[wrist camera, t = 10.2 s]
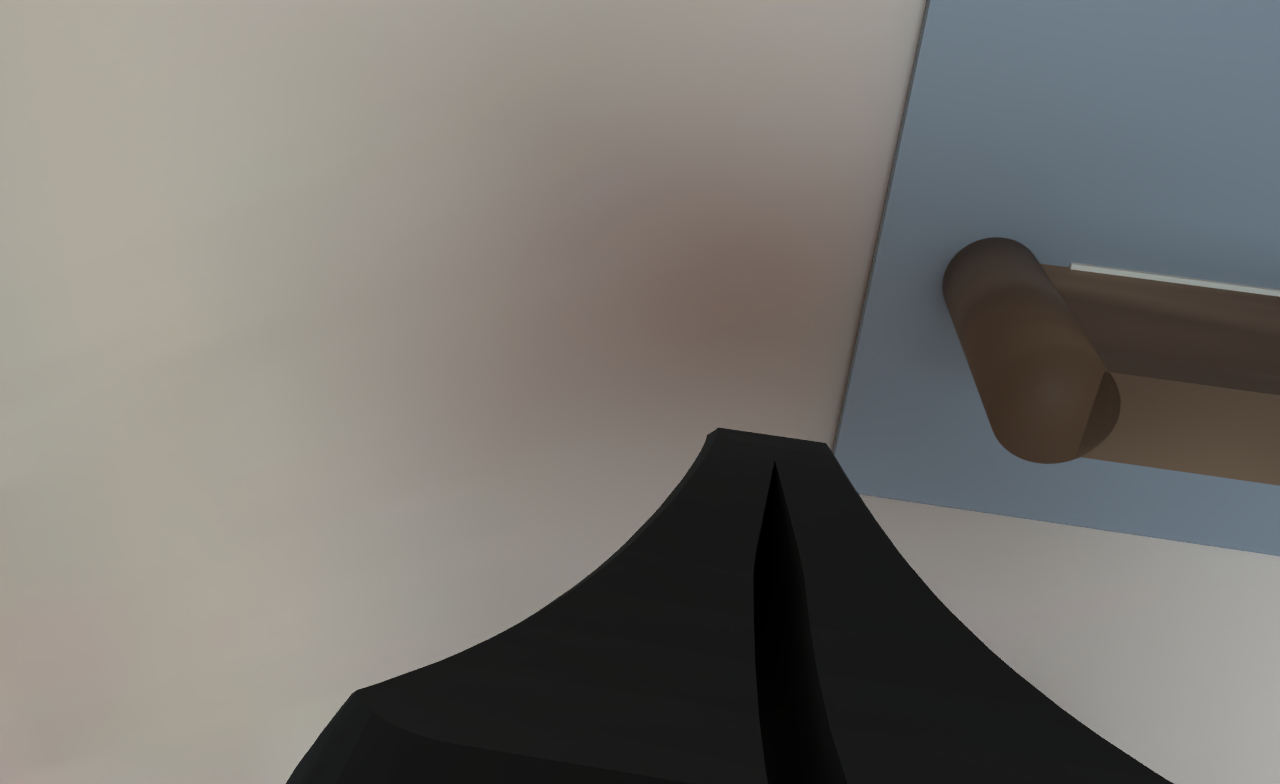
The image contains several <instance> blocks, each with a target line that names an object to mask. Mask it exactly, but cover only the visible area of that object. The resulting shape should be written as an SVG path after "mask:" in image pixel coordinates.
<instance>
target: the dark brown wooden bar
mask: <svg viewBox="0 0 1280 784" xmlns="http://www.w3.org/2000/svg"><path fill="white" fill-rule="evenodd" d="M942 291H943V296H944V300H945V303H946V305H947V308H948V311H949V314H950V316H951V319H952V322H953V324H954V327H955V330H956V333H957V335H958V338H959V341H960V344H961V346H962V349H963V352H964V354H965V357H966V360H967V363H968V365H969V368H970V371H971V373H972V376H973V379H974V382H975V384H976V387H977V390H978V392H979V395H980V398H981V401H982V403H983V406H984V409H985V412H986V414H987V417H988V420H989V422H990V425H991V428H992V430H993V433H994V435H995V437H996V438H997V440H998V441H999V443H1000V444H1001V445H1002V446H1003V447H1004V448H1005V449H1006V450H1007V451H1009V452H1010V453H1012V454H1013V455H1015V456H1017V457H1019V458H1021V459H1023V460H1026V461H1029V462H1034V463H1041V464H1056V463H1063V462H1067V461H1071V460H1074V459H1077V458H1080V457H1082V458H1089V459H1096V460H1103V461H1110V462H1117V463H1124V464H1131V465H1138V466H1145V467H1152V468H1159V469H1166V470H1173V471H1180V472H1187V473H1194V474H1201V475H1208V476H1215V477H1222V478H1229V479H1236V480H1243V481H1250V482H1257V483H1264V484H1271V485H1278V486H1280V297H1279V296H1271V295H1263V294H1256V293H1248V292H1241V291H1233V290H1225V289H1218V288H1210V287H1202V286H1195V285H1187V284H1180V283H1172V282H1164V281H1157V280H1149V279H1141V278H1134V277H1126V276H1118V275H1111V274H1103V273H1096V272H1088V271H1080V270H1073V269H1070V268H1069V267H1062V266H1055V265H1047V264H1040V263H1039V261H1038V260H1037V258H1036V257H1035V255H1034V254H1033V253H1032V252H1031V251H1030V250H1029V249H1028V248H1027V247H1026V246H1024V245H1023V244H1021V243H1019V242H1017V241H1015V240H1012V239H1008V238H1002V237H991V238H985V239H981V240H978V241H975V242H973V243H971V244H969V245H967V246H966V247H964V248H963V249H962V250H960V251H959V252H958V253H957V254H956V255H955V256H954V257H953V259H952V260H951V261H950V263H949V264H948V266H947V268H946V270H945V273H944V276H943V282H942Z"/></svg>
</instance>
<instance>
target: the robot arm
mask: <svg viewBox="0 0 1280 784" xmlns="http://www.w3.org/2000/svg"><path fill="white" fill-rule="evenodd" d="M286 784H1173V783H1172V782H1170V781H1168V780H1166V779H1165V778H1163V777H1162V776H1160V775H1158V774H1157V773H1155V772H1154V771H1152V770H1150V769H1149V768H1147V767H1146V766H1144V765H1143V764H1141V763H1140V762H1138V761H1137V760H1135V759H1134V758H1132V757H1131V756H1129V755H1128V754H1126V753H1125V752H1123V751H1122V750H1120V749H1119V748H1117V747H1116V746H1114V745H1113V744H1111V743H1110V742H1108V741H1107V740H1105V739H1104V738H1102V737H1100V736H1099V735H1098V734H1096V733H1095V732H1093V731H1092V730H1091V729H1089V728H1088V727H1086V726H1085V725H1084V724H1082V723H1081V722H1079V721H1078V720H1077V719H1075V718H1074V717H1073V716H1071V715H1070V714H1068V713H1067V712H1066V711H1064V710H1063V709H1062V708H1060V707H1059V706H1058V705H1056V704H1055V703H1054V702H1053V701H1051V700H1050V699H1049V698H1048V697H1046V696H1045V695H1044V694H1043V693H1041V692H1040V691H1039V690H1038V689H1036V688H1035V687H1034V686H1033V685H1031V684H1030V683H1029V682H1028V681H1026V680H1025V679H1024V678H1023V677H1021V676H1020V675H1019V674H1018V673H1016V672H1015V671H1014V670H1013V669H1012V668H1010V667H1009V666H1008V665H1007V664H1006V663H1005V662H1004V661H1002V660H1001V659H1000V658H999V657H998V656H997V655H996V654H994V653H993V652H992V651H991V650H990V649H989V648H988V647H987V646H986V645H985V644H984V643H983V642H982V641H981V640H979V639H978V638H977V637H976V636H975V635H974V634H973V633H972V632H971V631H970V630H969V629H968V628H967V627H966V626H965V625H964V624H963V623H962V622H961V621H960V620H959V619H958V618H957V617H956V616H955V615H954V614H953V613H952V612H951V611H950V610H949V609H948V608H947V607H946V606H945V605H944V604H943V603H942V602H941V601H940V600H939V599H938V598H937V597H936V595H935V594H934V593H933V592H932V591H931V590H930V589H929V588H928V586H927V585H926V584H925V583H924V582H923V580H922V579H921V578H920V577H919V576H918V575H917V573H916V572H915V571H914V570H913V569H912V568H911V566H910V565H909V564H908V563H907V562H906V560H905V559H904V558H903V557H902V555H901V554H900V553H899V551H898V550H897V549H896V547H895V546H894V545H893V543H892V542H891V540H890V539H889V538H888V536H887V535H886V534H885V532H884V531H883V529H882V528H881V527H880V525H879V524H878V523H877V521H876V520H875V518H874V517H873V515H872V514H871V512H870V511H869V510H868V508H867V507H866V505H865V504H864V502H863V500H862V499H861V497H860V496H859V494H858V493H857V491H856V490H855V488H854V487H853V485H852V483H851V482H850V480H849V479H848V477H847V475H846V474H845V472H844V470H843V469H842V467H841V465H840V464H839V462H838V460H837V459H836V457H835V456H834V454H833V453H832V451H831V450H830V448H829V447H828V446H827V444H826V443H821V442H814V441H807V440H800V439H793V438H786V437H779V436H772V435H766V434H759V433H752V432H745V431H738V430H731V429H724V428H717V429H716V430H714V431H713V432H711V433H710V434H708V435H707V438H706V441H705V444H704V446H703V448H702V450H701V452H700V453H699V455H698V457H697V458H696V460H695V462H694V463H693V465H692V466H691V468H690V469H689V470H688V472H687V473H686V475H685V476H684V478H683V479H682V480H681V482H680V483H679V484H678V485H677V487H676V488H675V489H674V490H673V492H672V493H671V494H670V495H669V497H668V498H667V499H666V500H665V501H664V503H663V504H662V505H661V506H660V508H659V509H658V510H657V511H656V512H655V513H654V514H653V515H652V516H651V517H650V518H649V520H648V521H647V522H646V523H645V524H644V525H643V526H642V527H641V528H640V529H639V530H638V531H637V532H636V533H635V534H634V535H633V536H632V537H631V538H630V539H629V540H628V541H627V542H626V543H625V544H624V545H623V546H622V547H621V548H620V549H619V550H618V551H617V552H615V553H614V554H613V555H612V556H611V557H610V558H609V559H608V560H607V561H605V562H604V563H603V564H602V565H601V566H599V567H598V568H597V569H596V570H595V571H593V572H592V573H591V574H590V575H588V576H587V577H586V578H585V579H583V580H582V581H581V582H579V583H578V584H577V585H576V586H574V587H573V588H571V589H570V590H569V591H567V592H566V593H564V594H563V595H561V596H560V597H558V598H557V599H555V600H554V601H553V602H551V603H550V604H548V605H547V606H545V607H544V608H542V609H541V610H539V611H538V612H536V613H535V614H533V615H532V616H530V617H528V618H527V619H525V620H523V621H522V622H520V623H518V624H517V625H515V626H513V627H511V628H509V629H508V630H506V631H504V632H502V633H500V634H498V635H496V636H494V637H492V638H490V639H488V640H486V641H484V642H482V643H480V644H477V645H475V646H473V647H471V648H469V649H467V650H465V651H462V652H460V653H458V654H456V655H453V656H451V657H448V658H446V659H444V660H441V661H439V662H436V663H433V664H431V665H428V666H425V667H422V668H420V669H417V670H414V671H411V672H409V673H406V674H403V675H400V676H397V677H395V678H392V679H389V680H386V681H384V682H381V683H378V684H375V685H372V686H369V687H366V688H362V689H359V690H357V691H355V692H354V693H352V694H351V696H350V697H349V698H348V699H347V701H346V702H345V703H344V704H343V706H342V707H341V708H340V709H339V711H338V712H337V713H336V715H335V716H334V717H333V718H332V720H331V721H330V722H329V724H328V725H327V726H326V728H325V729H324V730H323V731H322V733H321V734H320V735H319V737H318V738H317V740H316V741H315V743H314V744H313V745H312V747H311V748H310V749H309V751H308V752H307V753H306V754H305V756H304V757H303V758H302V760H301V761H300V762H299V764H298V765H297V767H296V768H295V770H294V771H293V773H292V775H291V776H290V778H289V779H288V781H287V783H286Z"/></svg>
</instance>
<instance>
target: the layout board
mask: <svg viewBox="0 0 1280 784" xmlns="http://www.w3.org/2000/svg"><path fill="white" fill-rule="evenodd" d="M991 237H1002V238H1008V239H1012V240H1015V241H1017V242H1019V243H1021V244H1023V245H1024V246H1026V247H1027V248H1028V249H1029V250H1030V251H1031V252H1032V253H1033V254H1034V255H1035V257H1036V258H1037V260H1038V261H1039V263H1040V264H1047V265H1055V266H1062V267H1069V268H1070V269H1073V270H1080V271H1088V272H1096V273H1103V274H1111V275H1118V276H1126V277H1134V278H1141V279H1149V280H1157V281H1164V282H1172V283H1180V284H1187V285H1195V286H1202V287H1210V288H1218V289H1225V290H1233V291H1241V292H1248V293H1256V294H1263V295H1271V296H1279V297H1280V0H927V4H926V8H925V13H924V18H923V23H922V28H921V32H920V37H919V42H918V47H917V51H916V56H915V61H914V66H913V71H912V75H911V80H910V85H909V90H908V95H907V99H906V104H905V109H904V114H903V118H902V123H901V128H900V133H899V138H898V142H897V147H896V152H895V157H894V162H893V166H892V171H891V176H890V181H889V185H888V190H887V195H886V200H885V205H884V209H883V214H882V219H881V224H880V229H879V233H878V238H877V243H876V248H875V253H874V257H873V262H872V267H871V272H870V276H869V281H868V286H867V291H866V296H865V300H864V305H863V310H862V315H861V320H860V324H859V329H858V334H857V339H856V343H855V348H854V353H853V358H852V363H851V367H850V372H849V377H848V382H847V387H846V391H845V396H844V401H843V406H842V410H841V415H840V420H839V425H838V430H837V434H836V439H835V444H834V449H833V454H834V456H835V457H836V459H837V460H838V462H839V464H840V465H841V467H842V469H843V470H844V472H845V474H846V475H847V477H848V479H849V480H850V482H851V483H852V485H853V487H854V488H855V490H856V491H857V493H858V494H862V495H869V496H876V497H882V498H889V499H896V500H903V501H910V502H916V503H923V504H930V505H937V506H943V507H950V508H957V509H964V510H971V511H977V512H984V513H991V514H998V515H1004V516H1011V517H1018V518H1025V519H1032V520H1038V521H1045V522H1052V523H1059V524H1065V525H1072V526H1079V527H1086V528H1093V529H1099V530H1106V531H1113V532H1120V533H1127V534H1133V535H1140V536H1147V537H1154V538H1160V539H1167V540H1174V541H1181V542H1188V543H1194V544H1201V545H1208V546H1215V547H1221V548H1228V549H1235V550H1242V551H1249V552H1255V553H1262V554H1269V555H1276V556H1280V486H1278V485H1271V484H1264V483H1257V482H1250V481H1243V480H1236V479H1229V478H1222V477H1215V476H1208V475H1201V474H1194V473H1187V472H1180V471H1173V470H1166V469H1159V468H1152V467H1145V466H1138V465H1131V464H1124V463H1117V462H1110V461H1103V460H1096V459H1089V458H1082V457H1080V458H1077V459H1074V460H1071V461H1067V462H1063V463H1056V464H1041V463H1034V462H1029V461H1026V460H1023V459H1021V458H1019V457H1017V456H1015V455H1013V454H1012V453H1010V452H1009V451H1007V450H1006V449H1005V448H1004V447H1003V446H1002V445H1001V444H1000V443H999V441H998V440H997V438H996V437H995V435H994V433H993V430H992V428H991V425H990V422H989V420H988V417H987V414H986V412H985V409H984V406H983V403H982V401H981V398H980V395H979V392H978V390H977V387H976V384H975V382H974V379H973V376H972V373H971V371H970V368H969V365H968V363H967V360H966V357H965V354H964V352H963V349H962V346H961V344H960V341H959V338H958V335H957V333H956V330H955V327H954V324H953V322H952V319H951V316H950V314H949V311H948V308H947V305H946V303H945V300H944V296H943V291H942V282H943V276H944V273H945V270H946V268H947V266H948V264H949V263H950V261H951V260H952V259H953V257H954V256H955V255H956V254H957V253H958V252H959V251H960V250H962V249H963V248H964V247H966V246H967V245H969V244H971V243H973V242H975V241H978V240H981V239H985V238H991Z"/></svg>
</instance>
